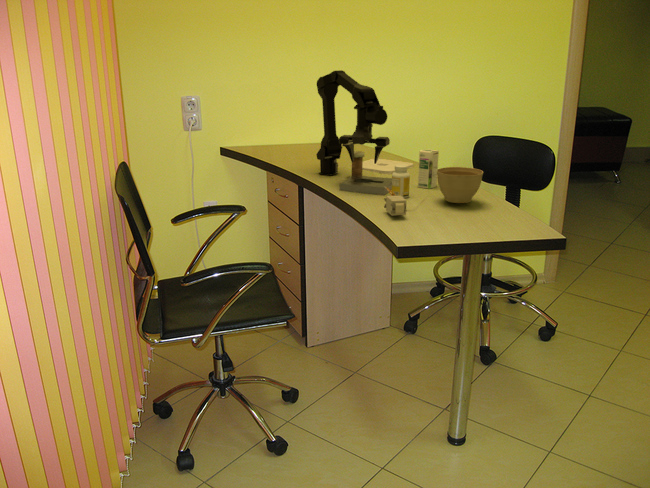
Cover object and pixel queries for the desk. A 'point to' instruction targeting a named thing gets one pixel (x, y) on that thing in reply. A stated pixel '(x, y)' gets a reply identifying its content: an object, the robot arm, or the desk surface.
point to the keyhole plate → (366, 185)
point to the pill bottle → (400, 181)
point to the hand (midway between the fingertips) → (363, 162)
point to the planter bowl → (459, 183)
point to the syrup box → (428, 168)
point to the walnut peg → (357, 163)
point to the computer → (383, 165)
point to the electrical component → (395, 204)
